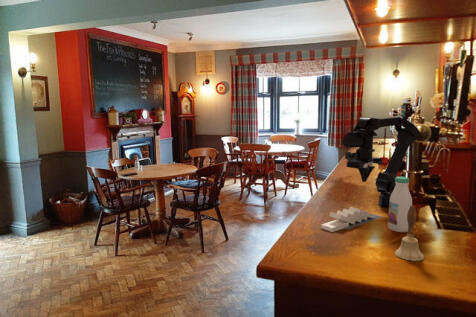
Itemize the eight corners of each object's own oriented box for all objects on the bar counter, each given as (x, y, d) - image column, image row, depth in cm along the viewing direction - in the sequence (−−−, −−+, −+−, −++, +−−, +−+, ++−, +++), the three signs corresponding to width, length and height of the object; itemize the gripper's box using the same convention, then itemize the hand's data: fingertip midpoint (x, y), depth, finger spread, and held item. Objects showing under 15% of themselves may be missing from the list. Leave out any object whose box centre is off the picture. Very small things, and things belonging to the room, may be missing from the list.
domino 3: (351, 215, 143) (337, 210, 137) (362, 218, 139) (348, 213, 133) (350, 219, 143) (336, 214, 137) (360, 222, 139) (347, 217, 133)
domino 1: (344, 217, 141) (330, 211, 135) (355, 220, 137) (341, 215, 131) (343, 221, 141) (329, 215, 135) (354, 224, 137) (339, 219, 131)
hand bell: (389, 250, 113) (392, 202, 111) (414, 249, 114) (417, 202, 112) (403, 262, 105) (407, 210, 103) (430, 260, 106) (434, 209, 103)
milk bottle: (408, 227, 135) (412, 176, 132) (411, 234, 127) (415, 180, 124) (387, 225, 137) (390, 175, 134) (388, 231, 130) (391, 179, 127)
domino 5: (362, 211, 148) (349, 206, 142) (373, 214, 144) (360, 209, 138) (361, 215, 148) (348, 210, 142) (372, 218, 144) (359, 213, 138)
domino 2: (338, 219, 139) (321, 224, 133) (349, 222, 135) (332, 228, 129) (338, 223, 139) (321, 228, 133) (348, 226, 135) (332, 232, 129)
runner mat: (366, 213, 153) (366, 212, 153) (383, 217, 146) (383, 216, 146) (330, 224, 138) (330, 223, 138) (347, 230, 132) (347, 229, 132)
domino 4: (356, 213, 146) (343, 208, 140) (367, 216, 142) (354, 211, 136) (355, 217, 146) (342, 212, 140) (366, 220, 142) (353, 215, 136)
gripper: (362, 143, 164) (360, 176, 167) (336, 146, 153) (335, 181, 156) (384, 145, 155) (382, 180, 158) (359, 149, 144) (357, 186, 147)
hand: (364, 181), depth 155 cm, fingers closed
